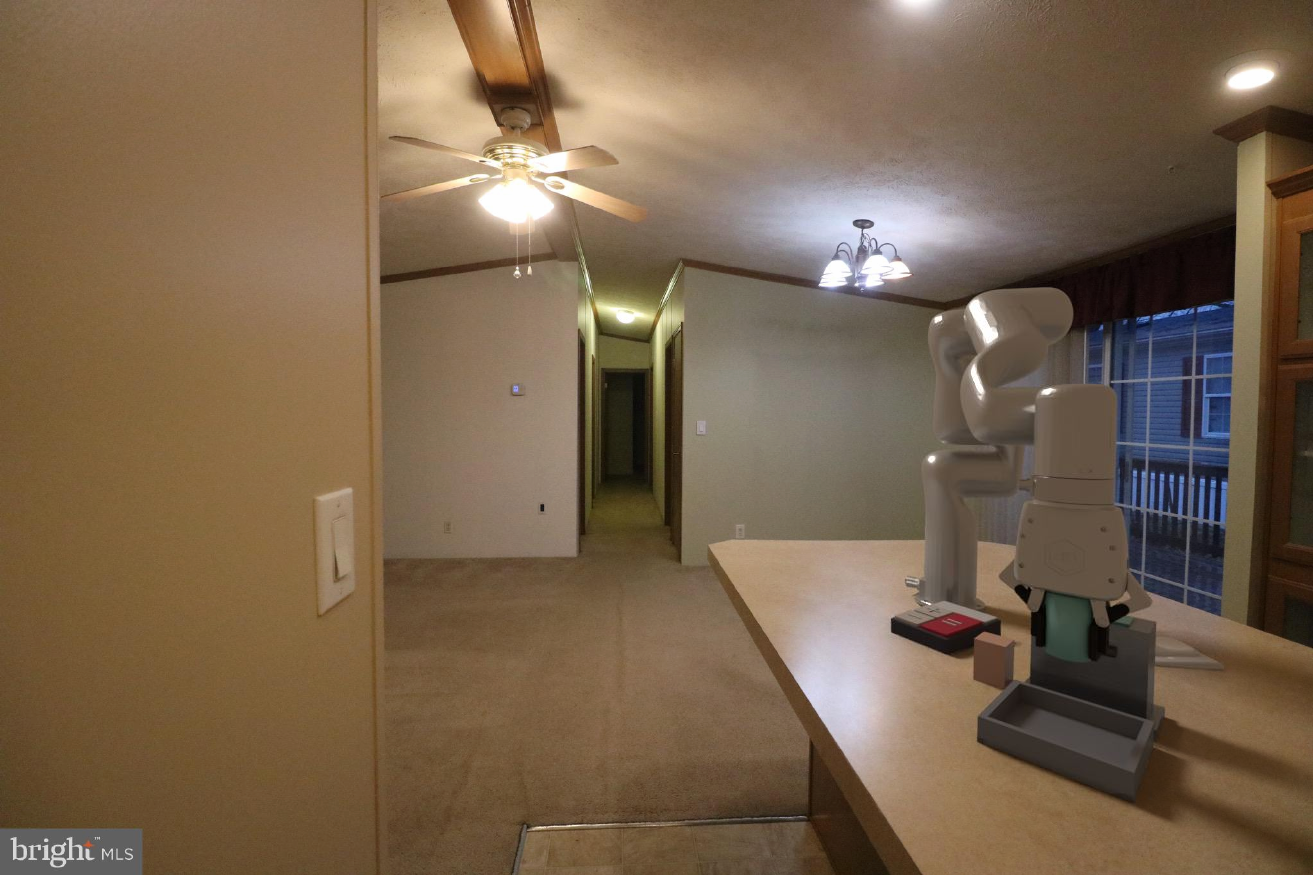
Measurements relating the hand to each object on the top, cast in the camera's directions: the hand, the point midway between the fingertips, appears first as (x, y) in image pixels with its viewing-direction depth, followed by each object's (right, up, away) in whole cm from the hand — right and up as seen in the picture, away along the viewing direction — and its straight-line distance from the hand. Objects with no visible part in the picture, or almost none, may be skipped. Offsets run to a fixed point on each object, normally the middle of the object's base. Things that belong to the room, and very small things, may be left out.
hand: (1068, 649), depth 64 cm
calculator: (+3, -11, +34) cm, 35 cm away
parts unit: (+10, -11, +9) cm, 17 cm away
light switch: (+33, -12, +27) cm, 44 cm away
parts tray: (0, -11, +1) cm, 11 cm away
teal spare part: (0, -1, 0) cm, 1 cm away
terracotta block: (+2, -11, +17) cm, 20 cm away
